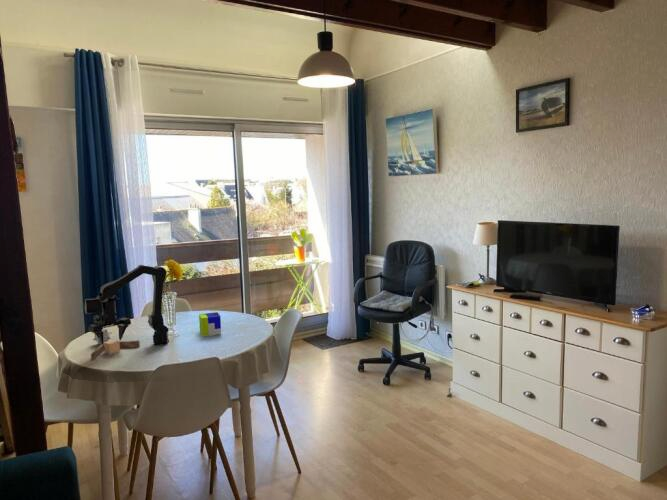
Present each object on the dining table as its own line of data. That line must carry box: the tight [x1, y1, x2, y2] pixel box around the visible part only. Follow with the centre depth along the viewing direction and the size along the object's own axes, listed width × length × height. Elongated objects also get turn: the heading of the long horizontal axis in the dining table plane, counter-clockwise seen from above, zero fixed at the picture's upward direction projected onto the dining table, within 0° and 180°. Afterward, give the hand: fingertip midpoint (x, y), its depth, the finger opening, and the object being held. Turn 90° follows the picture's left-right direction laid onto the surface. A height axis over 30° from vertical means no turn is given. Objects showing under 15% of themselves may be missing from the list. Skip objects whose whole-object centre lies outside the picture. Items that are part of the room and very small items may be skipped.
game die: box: [92, 328, 113, 344], centre depth 255 cm, size 9×8×10 cm
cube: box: [104, 339, 121, 355], centre depth 242 cm, size 5×5×5 cm
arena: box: [90, 340, 141, 361], centre depth 240 cm, size 17×19×3 cm
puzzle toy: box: [198, 311, 222, 337], centre depth 272 cm, size 10×10×10 cm
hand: (111, 342), depth 241 cm, fingers open, 9 cm apart
